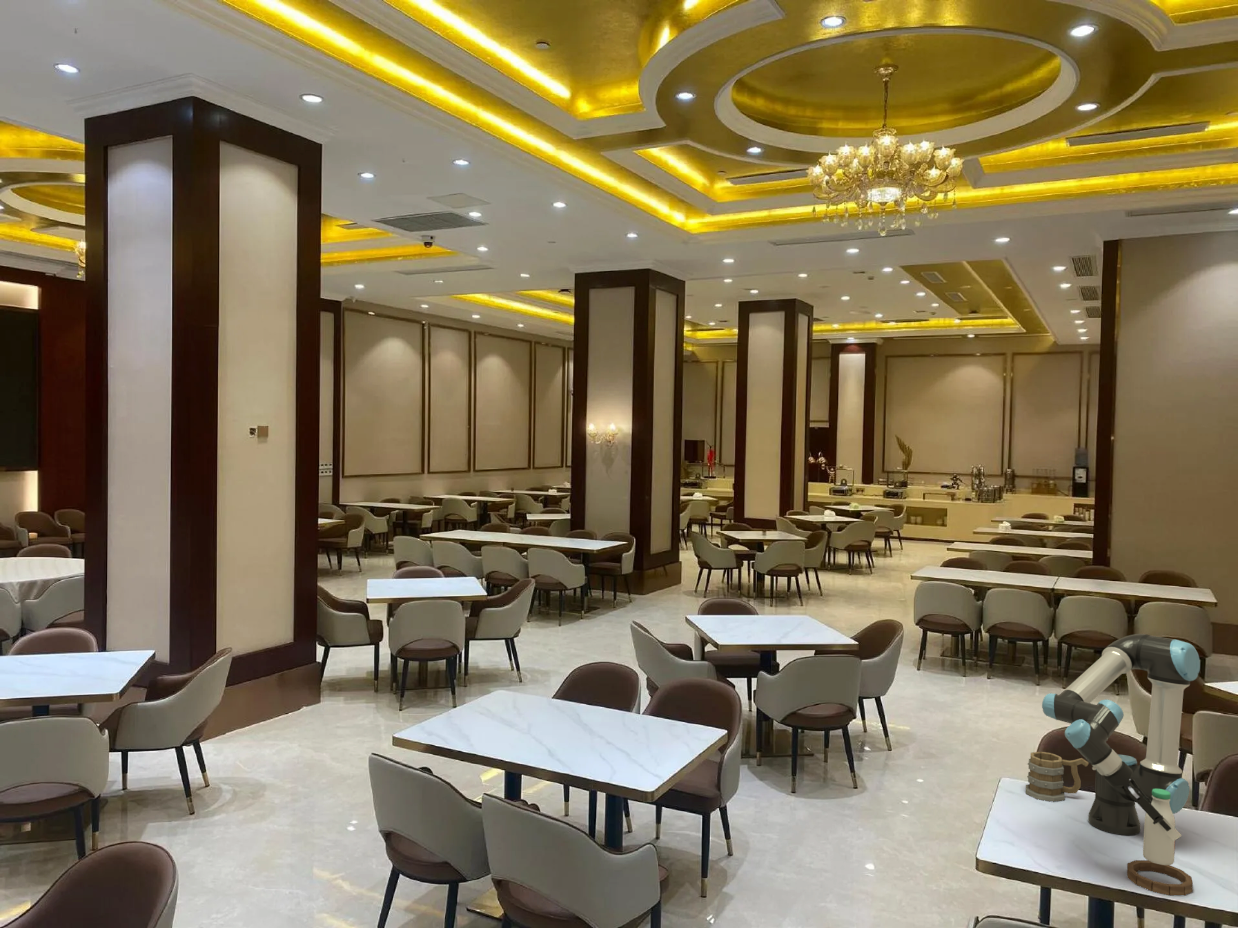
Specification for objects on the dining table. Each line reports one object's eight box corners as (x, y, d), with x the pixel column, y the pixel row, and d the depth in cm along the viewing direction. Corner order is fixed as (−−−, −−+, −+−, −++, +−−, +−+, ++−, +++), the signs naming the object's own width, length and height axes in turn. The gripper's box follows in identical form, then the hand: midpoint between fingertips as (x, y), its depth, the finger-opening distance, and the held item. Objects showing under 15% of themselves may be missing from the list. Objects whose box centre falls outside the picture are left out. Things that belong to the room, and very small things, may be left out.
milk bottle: (1173, 868, 252) (1176, 798, 252) (1142, 860, 256) (1145, 791, 256) (1174, 858, 259) (1177, 789, 258) (1143, 851, 263) (1146, 783, 262)
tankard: (1025, 797, 319) (1027, 755, 319) (1025, 785, 331) (1026, 745, 331) (1088, 808, 311) (1090, 765, 311) (1086, 795, 323) (1087, 754, 322)
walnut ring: (1126, 863, 269) (1126, 855, 269) (1189, 876, 261) (1189, 868, 261) (1127, 885, 255) (1128, 877, 255) (1194, 900, 247) (1194, 891, 247)
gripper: (1095, 764, 272) (1153, 825, 267) (1109, 787, 252) (1172, 854, 247) (1115, 749, 270) (1174, 811, 265) (1131, 771, 251) (1194, 838, 246)
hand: (1173, 832), depth 256 cm, fingers closed on milk bottle, 7 cm apart
